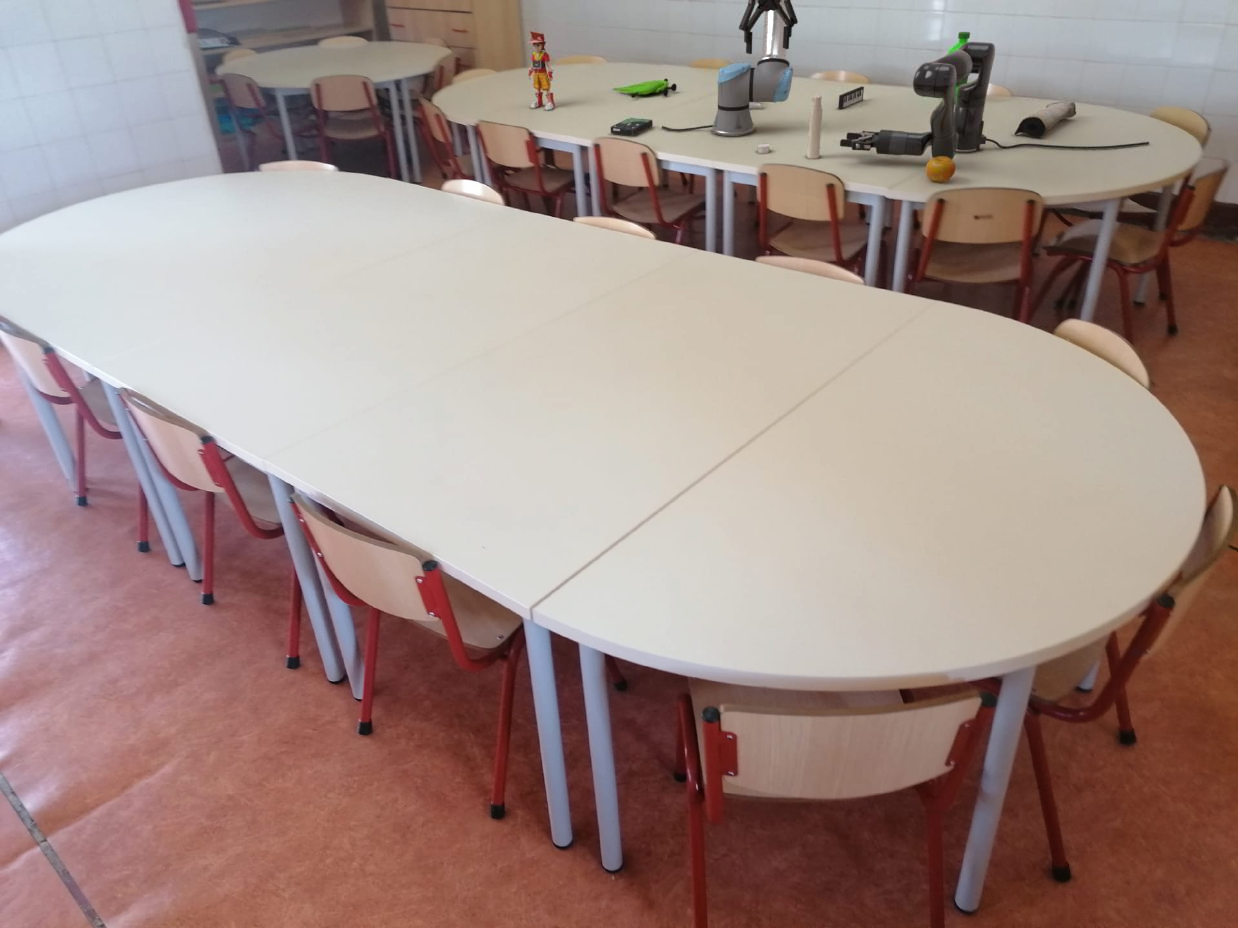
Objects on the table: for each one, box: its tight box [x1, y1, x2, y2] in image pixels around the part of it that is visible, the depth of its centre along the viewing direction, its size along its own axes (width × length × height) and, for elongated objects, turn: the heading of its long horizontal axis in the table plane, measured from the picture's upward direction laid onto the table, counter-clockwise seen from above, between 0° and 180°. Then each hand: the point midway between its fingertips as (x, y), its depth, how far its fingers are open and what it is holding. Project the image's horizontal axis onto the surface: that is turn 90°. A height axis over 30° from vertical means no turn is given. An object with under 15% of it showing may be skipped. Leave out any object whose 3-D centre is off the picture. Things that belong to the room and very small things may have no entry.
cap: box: [757, 143, 770, 154], centre depth 313 cm, size 4×4×2 cm
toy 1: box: [527, 31, 556, 111], centre depth 374 cm, size 12×9×30 cm
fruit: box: [925, 156, 956, 183], centre depth 276 cm, size 8×8×8 cm
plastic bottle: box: [947, 31, 971, 103], centre depth 348 cm, size 10×10×25 cm
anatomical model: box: [749, 102, 763, 110], centre depth 365 cm, size 15×10×10 cm
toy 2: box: [612, 78, 677, 99], centre depth 396 cm, size 28×5×30 cm
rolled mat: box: [1014, 100, 1077, 139], centre depth 318 cm, size 30×9×10 cm
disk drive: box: [610, 117, 653, 136], centre depth 344 cm, size 10×3×15 cm
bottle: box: [806, 94, 824, 160], centre depth 300 cm, size 4×4×20 cm
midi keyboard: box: [837, 85, 865, 110], centre depth 359 cm, size 18×1×5 cm, turn 138°
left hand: (767, 51), depth 295 cm, fingers open, 13 cm apart
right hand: (843, 139), depth 298 cm, fingers open, 8 cm apart
